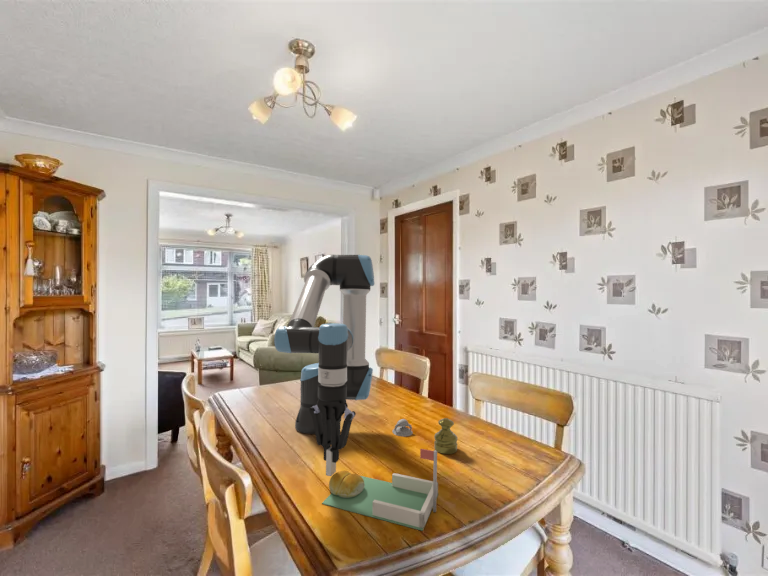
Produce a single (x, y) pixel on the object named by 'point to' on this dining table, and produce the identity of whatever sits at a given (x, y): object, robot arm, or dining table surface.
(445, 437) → the olive green sack
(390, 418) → the dining table surface
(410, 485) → the white u-shaped piece
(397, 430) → the miniature
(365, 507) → the green mat
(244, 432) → the dining table surface
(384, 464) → the dining table surface
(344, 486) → the bread roll
